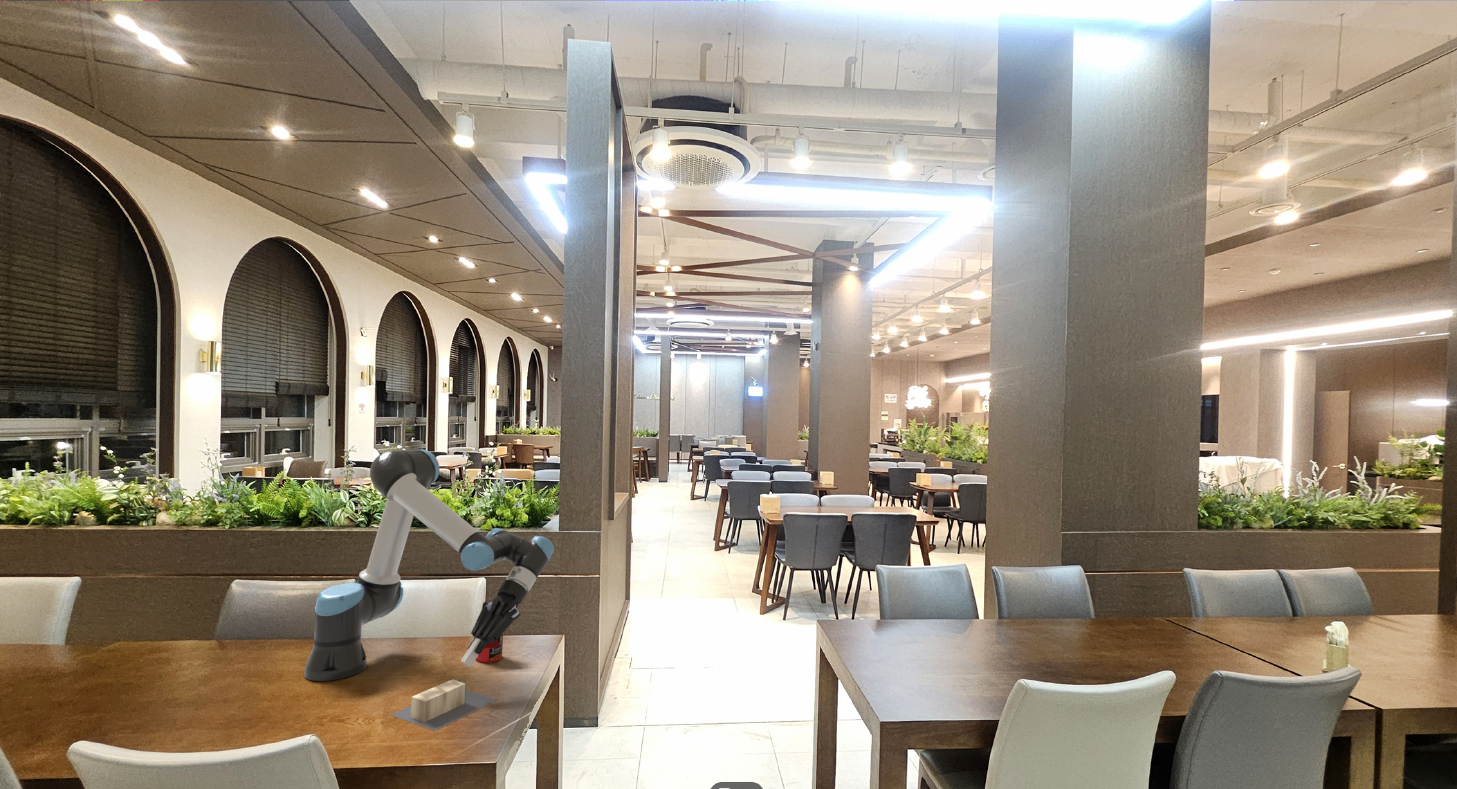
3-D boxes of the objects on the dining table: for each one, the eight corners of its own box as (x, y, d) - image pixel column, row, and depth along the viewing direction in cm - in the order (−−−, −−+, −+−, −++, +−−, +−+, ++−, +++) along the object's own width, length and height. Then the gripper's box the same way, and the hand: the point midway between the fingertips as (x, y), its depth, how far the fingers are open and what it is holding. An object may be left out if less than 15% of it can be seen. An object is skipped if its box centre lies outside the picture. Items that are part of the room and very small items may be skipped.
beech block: (451, 698, 162) (410, 717, 151) (452, 679, 162) (411, 696, 152) (465, 702, 160) (424, 722, 149) (466, 683, 160) (425, 701, 149)
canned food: (493, 665, 185) (494, 628, 186) (469, 662, 187) (470, 625, 188) (507, 656, 193) (508, 620, 193) (483, 653, 195) (485, 618, 195)
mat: (389, 716, 152) (390, 714, 152) (454, 687, 169) (454, 686, 169) (434, 732, 145) (434, 730, 145) (497, 701, 162) (497, 699, 162)
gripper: (493, 575, 179) (440, 651, 164) (526, 581, 173) (475, 661, 158) (507, 589, 184) (456, 665, 168) (539, 596, 178) (490, 675, 162)
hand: (465, 663), depth 163 cm, fingers closed
